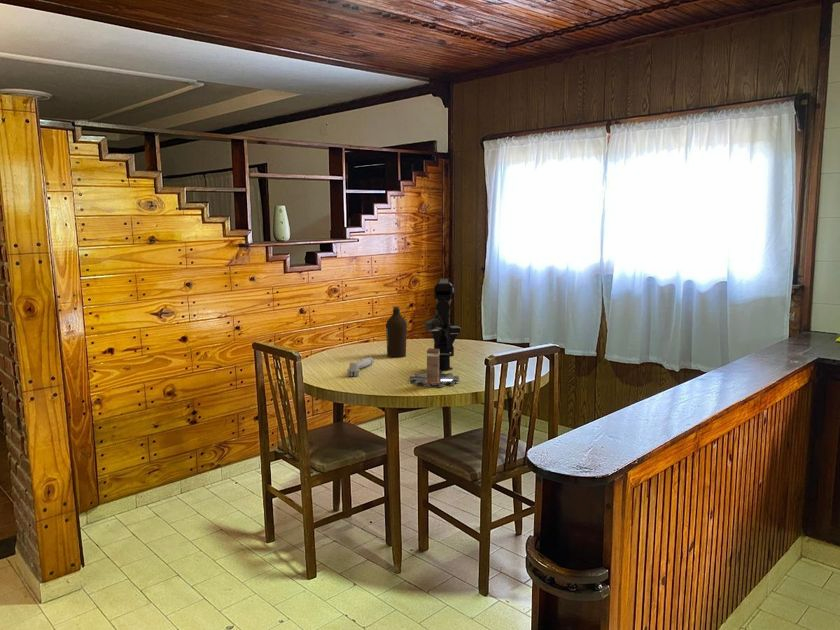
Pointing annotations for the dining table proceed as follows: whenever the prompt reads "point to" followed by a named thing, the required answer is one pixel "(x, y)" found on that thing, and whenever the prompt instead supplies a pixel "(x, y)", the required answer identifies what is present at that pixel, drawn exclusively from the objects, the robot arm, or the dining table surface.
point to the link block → (433, 365)
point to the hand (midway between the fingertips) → (442, 348)
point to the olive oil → (396, 334)
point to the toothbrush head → (359, 366)
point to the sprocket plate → (443, 380)
